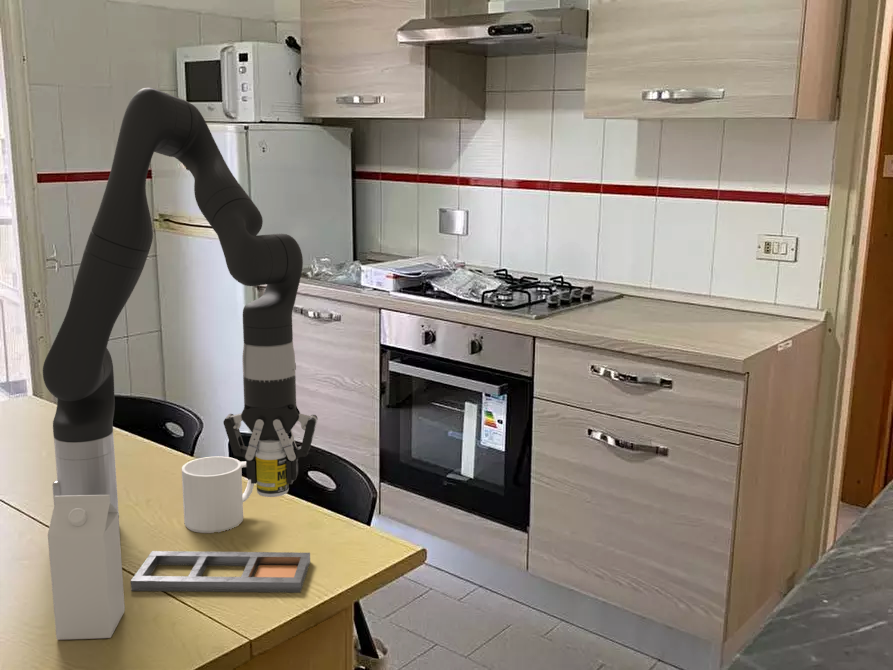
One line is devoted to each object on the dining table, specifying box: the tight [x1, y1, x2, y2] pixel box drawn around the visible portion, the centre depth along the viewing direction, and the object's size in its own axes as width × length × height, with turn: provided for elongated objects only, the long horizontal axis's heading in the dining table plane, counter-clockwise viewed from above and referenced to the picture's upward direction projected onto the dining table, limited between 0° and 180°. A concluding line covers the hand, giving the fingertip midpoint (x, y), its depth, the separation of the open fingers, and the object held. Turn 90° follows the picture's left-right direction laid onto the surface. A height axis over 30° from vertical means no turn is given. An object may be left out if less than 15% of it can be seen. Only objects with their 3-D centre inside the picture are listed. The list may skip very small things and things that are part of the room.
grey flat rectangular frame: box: [130, 550, 311, 593], centre depth 138 cm, size 25×10×2 cm, turn 90°
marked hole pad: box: [253, 565, 298, 577], centre depth 138 cm, size 6×6×1 cm
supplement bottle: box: [256, 439, 290, 498], centre depth 135 cm, size 5×5×8 cm
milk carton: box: [47, 495, 126, 641], centre depth 122 cm, size 7×7×19 cm
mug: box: [181, 455, 255, 534], centre depth 158 cm, size 13×10×10 cm
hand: (272, 481), depth 135 cm, fingers closed on supplement bottle, 4 cm apart
